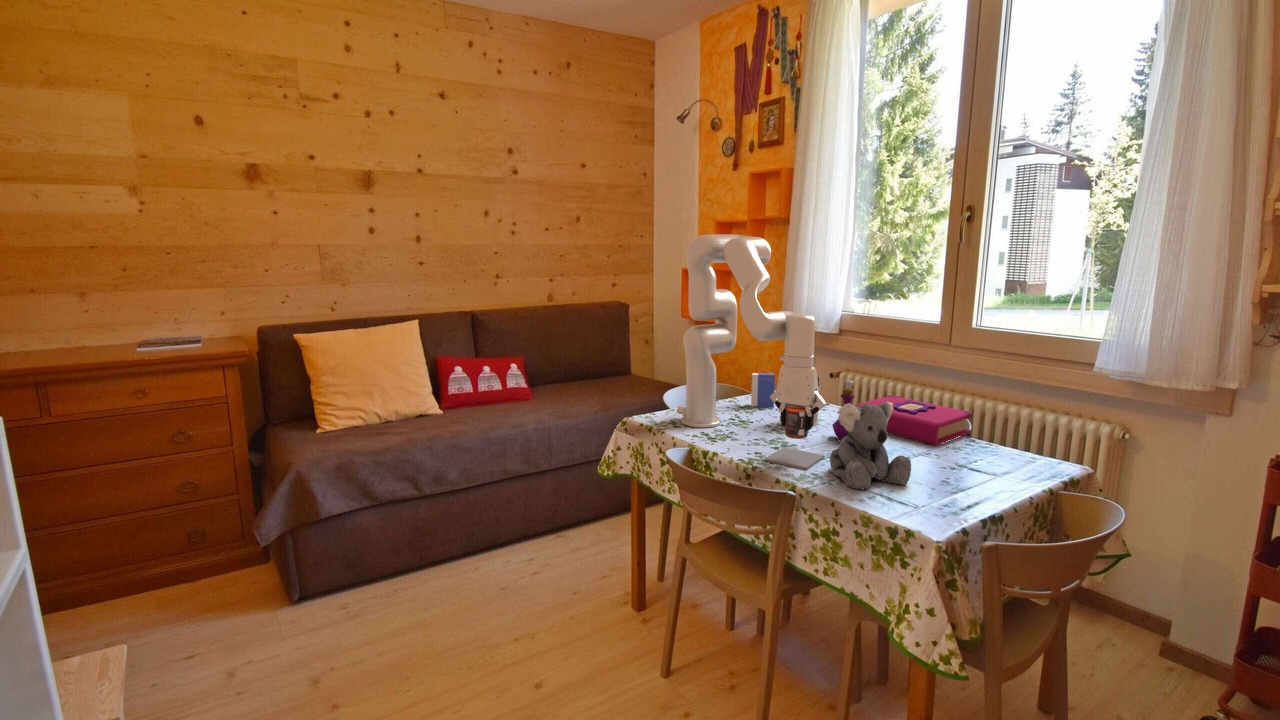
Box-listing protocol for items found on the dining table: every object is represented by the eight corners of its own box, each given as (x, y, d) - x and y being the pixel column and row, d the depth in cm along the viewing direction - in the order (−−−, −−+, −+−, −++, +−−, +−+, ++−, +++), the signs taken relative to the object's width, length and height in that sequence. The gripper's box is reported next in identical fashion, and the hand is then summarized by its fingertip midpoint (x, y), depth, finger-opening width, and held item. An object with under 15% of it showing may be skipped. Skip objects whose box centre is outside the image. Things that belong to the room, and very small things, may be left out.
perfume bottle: (831, 434, 201) (834, 376, 198) (857, 436, 200) (861, 377, 196) (833, 442, 194) (836, 382, 191) (860, 444, 192) (864, 383, 189)
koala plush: (853, 493, 157) (858, 413, 153) (813, 468, 173) (816, 395, 170) (915, 485, 161) (921, 407, 158) (870, 461, 178) (875, 390, 175)
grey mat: (764, 460, 179) (764, 458, 179) (783, 449, 188) (783, 447, 188) (807, 469, 172) (807, 467, 172) (824, 457, 181) (824, 455, 181)
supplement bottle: (808, 440, 175) (809, 398, 173) (785, 439, 176) (786, 397, 174) (807, 433, 181) (808, 393, 179) (784, 432, 182) (786, 392, 180)
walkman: (773, 405, 235) (774, 372, 233) (773, 407, 233) (775, 374, 230) (750, 405, 236) (751, 372, 234) (751, 407, 233) (752, 373, 231)
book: (935, 448, 190) (937, 422, 189) (851, 425, 212) (853, 402, 211) (972, 434, 202) (974, 410, 201) (889, 414, 224) (891, 393, 223)
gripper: (762, 360, 177) (760, 425, 180) (825, 367, 167) (822, 436, 170) (774, 356, 183) (773, 419, 186) (836, 362, 173) (832, 429, 176)
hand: (796, 427), depth 178 cm, fingers closed on supplement bottle, 6 cm apart
